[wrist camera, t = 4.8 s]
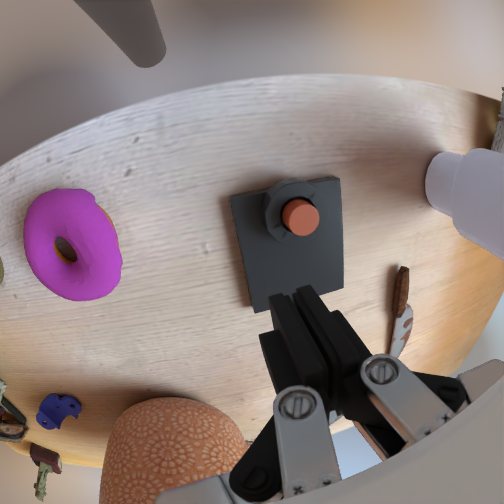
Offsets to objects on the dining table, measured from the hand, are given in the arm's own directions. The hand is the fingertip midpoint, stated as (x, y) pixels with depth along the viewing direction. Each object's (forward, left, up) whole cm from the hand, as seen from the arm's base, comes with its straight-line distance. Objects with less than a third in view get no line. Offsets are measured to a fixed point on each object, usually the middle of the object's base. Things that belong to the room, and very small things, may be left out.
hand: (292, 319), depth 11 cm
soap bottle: (-18, +18, -15) cm, 30 cm away
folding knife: (+52, -17, -15) cm, 56 cm away
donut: (+10, -11, -16) cm, 22 cm away
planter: (+31, +10, -15) cm, 36 cm away
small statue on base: (+74, -9, -16) cm, 76 cm away
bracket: (+39, -7, -12) cm, 42 cm away
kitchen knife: (0, +30, -16) cm, 33 cm away
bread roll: (+65, -15, -15) cm, 68 cm away
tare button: (-3, +4, -13) cm, 14 cm away
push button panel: (0, +7, -15) cm, 17 cm away
